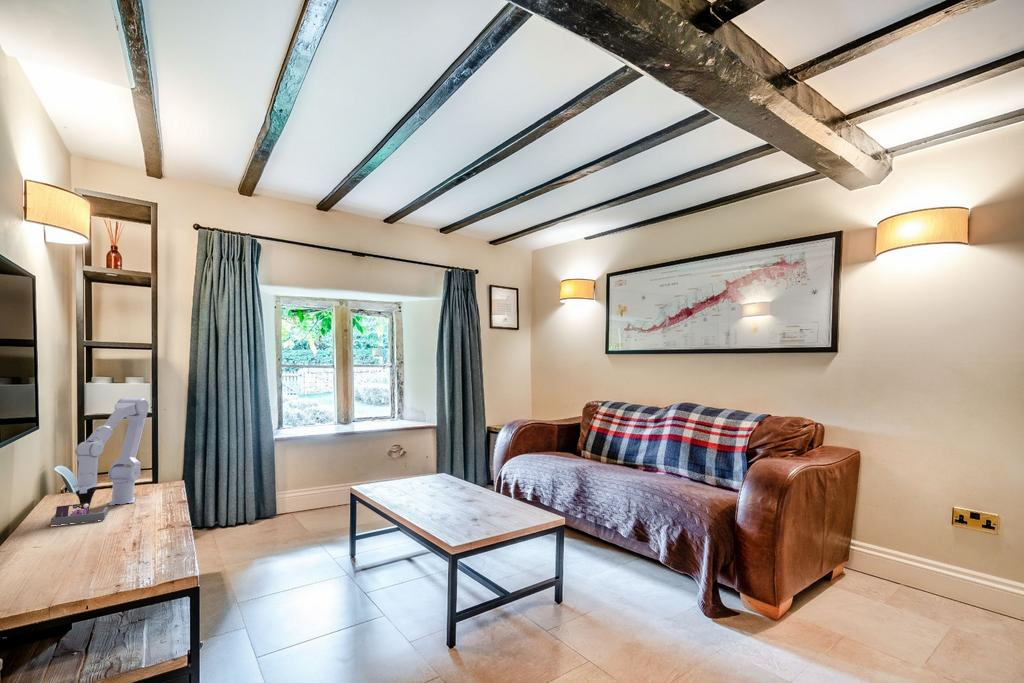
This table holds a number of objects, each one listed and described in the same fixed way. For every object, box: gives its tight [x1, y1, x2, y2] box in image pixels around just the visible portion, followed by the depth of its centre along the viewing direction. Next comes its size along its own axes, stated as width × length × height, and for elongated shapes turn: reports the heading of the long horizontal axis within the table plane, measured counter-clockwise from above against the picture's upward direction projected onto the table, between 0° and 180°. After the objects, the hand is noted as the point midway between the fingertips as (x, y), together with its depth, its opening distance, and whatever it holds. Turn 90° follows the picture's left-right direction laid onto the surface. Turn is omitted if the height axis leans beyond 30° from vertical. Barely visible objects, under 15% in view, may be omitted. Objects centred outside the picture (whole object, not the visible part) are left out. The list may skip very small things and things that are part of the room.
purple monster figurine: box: [55, 503, 91, 518], centre depth 174 cm, size 7×5×9 cm
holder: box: [49, 506, 109, 527], centre depth 176 cm, size 9×15×3 cm, turn 124°
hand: (85, 508), depth 183 cm, fingers closed
